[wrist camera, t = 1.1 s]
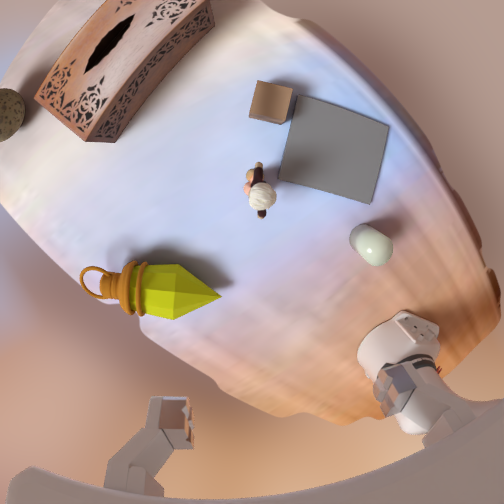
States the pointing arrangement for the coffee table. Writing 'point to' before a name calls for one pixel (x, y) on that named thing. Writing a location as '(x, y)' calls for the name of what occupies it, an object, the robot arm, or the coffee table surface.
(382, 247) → the sage green capsule
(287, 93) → the walnut block
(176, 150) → the coffee table surface
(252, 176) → the grandmother figurine
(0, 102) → the decorative egg
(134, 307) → the plumb bob
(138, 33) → the tissue box cover
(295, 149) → the slate mat
